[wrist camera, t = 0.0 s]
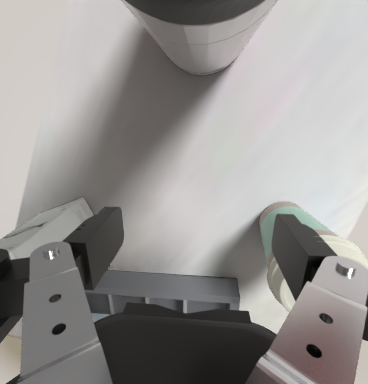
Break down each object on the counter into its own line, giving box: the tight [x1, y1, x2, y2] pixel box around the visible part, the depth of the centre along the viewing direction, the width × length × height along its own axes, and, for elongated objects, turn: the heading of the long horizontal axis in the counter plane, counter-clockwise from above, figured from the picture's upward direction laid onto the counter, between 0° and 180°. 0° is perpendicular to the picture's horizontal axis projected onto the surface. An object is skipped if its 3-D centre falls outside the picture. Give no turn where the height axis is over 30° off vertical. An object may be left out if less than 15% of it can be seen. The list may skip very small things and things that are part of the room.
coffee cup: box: [259, 202, 368, 313], centre depth 25 cm, size 9×8×12 cm
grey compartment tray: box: [84, 270, 240, 315], centre depth 36 cm, size 15×26×4 cm, turn 90°
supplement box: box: [0, 197, 94, 317], centre depth 27 cm, size 7×7×13 cm
